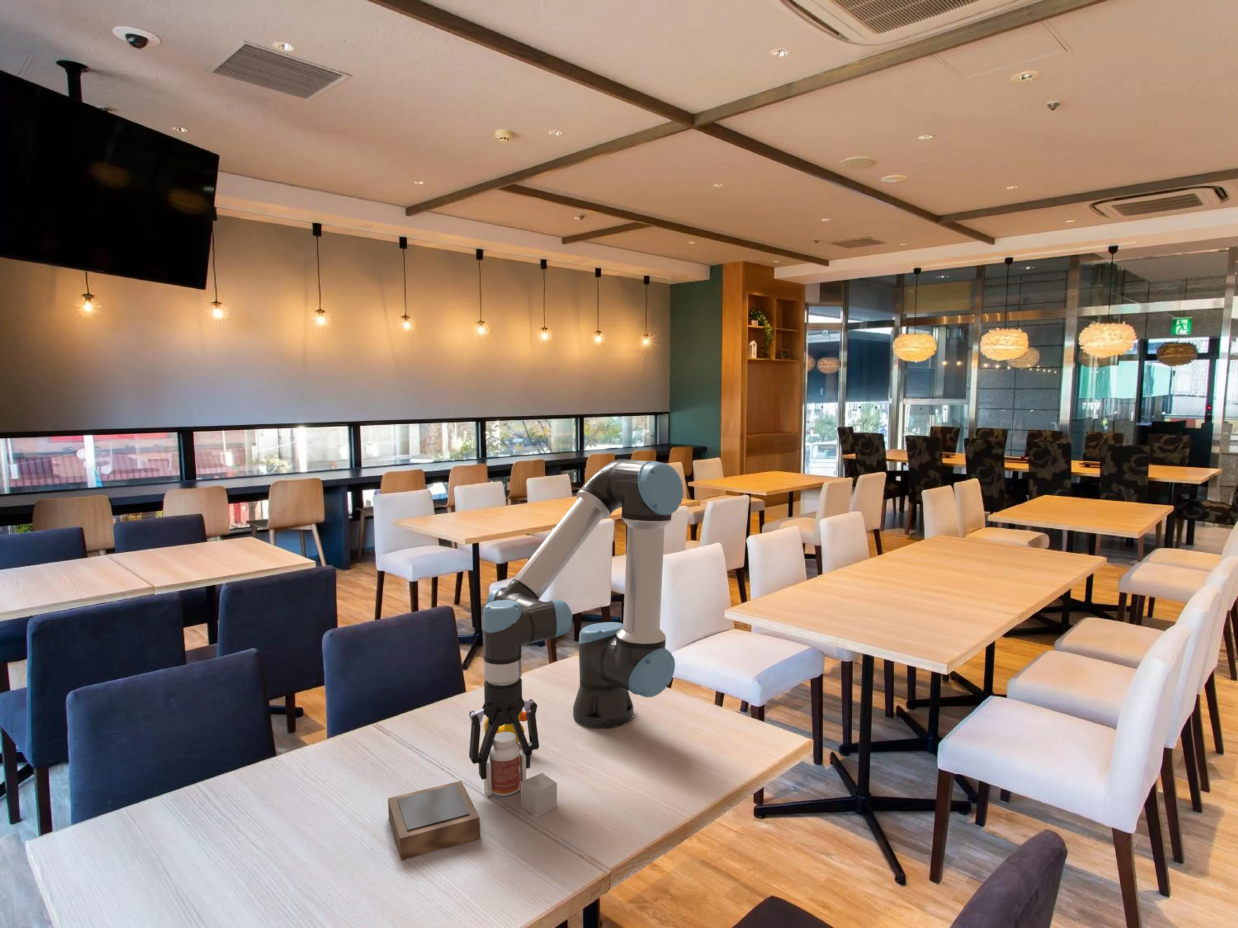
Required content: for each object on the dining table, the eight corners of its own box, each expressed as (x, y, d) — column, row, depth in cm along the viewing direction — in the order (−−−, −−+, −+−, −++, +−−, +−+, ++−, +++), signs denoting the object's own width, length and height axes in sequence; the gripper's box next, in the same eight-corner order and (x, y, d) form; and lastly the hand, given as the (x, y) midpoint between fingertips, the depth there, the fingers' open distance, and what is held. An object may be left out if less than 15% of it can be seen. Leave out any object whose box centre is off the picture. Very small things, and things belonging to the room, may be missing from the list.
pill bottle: (526, 790, 146) (525, 738, 145) (498, 800, 143) (496, 746, 142) (513, 777, 151) (511, 726, 150) (485, 786, 148) (484, 734, 147)
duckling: (536, 741, 167) (535, 699, 166) (528, 752, 162) (528, 709, 161) (489, 737, 169) (488, 696, 168) (481, 748, 164) (479, 705, 163)
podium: (461, 799, 143) (461, 778, 143) (480, 837, 130) (479, 815, 130) (388, 818, 137) (387, 796, 136) (400, 860, 124) (399, 836, 124)
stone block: (542, 796, 144) (541, 772, 144) (557, 807, 140) (556, 782, 140) (521, 805, 141) (520, 781, 140) (535, 816, 137) (535, 791, 137)
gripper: (542, 664, 152) (544, 768, 154) (450, 680, 144) (453, 790, 146) (555, 676, 146) (556, 785, 148) (458, 694, 137) (462, 809, 139)
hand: (505, 787), depth 147 cm, fingers open, 7 cm apart
